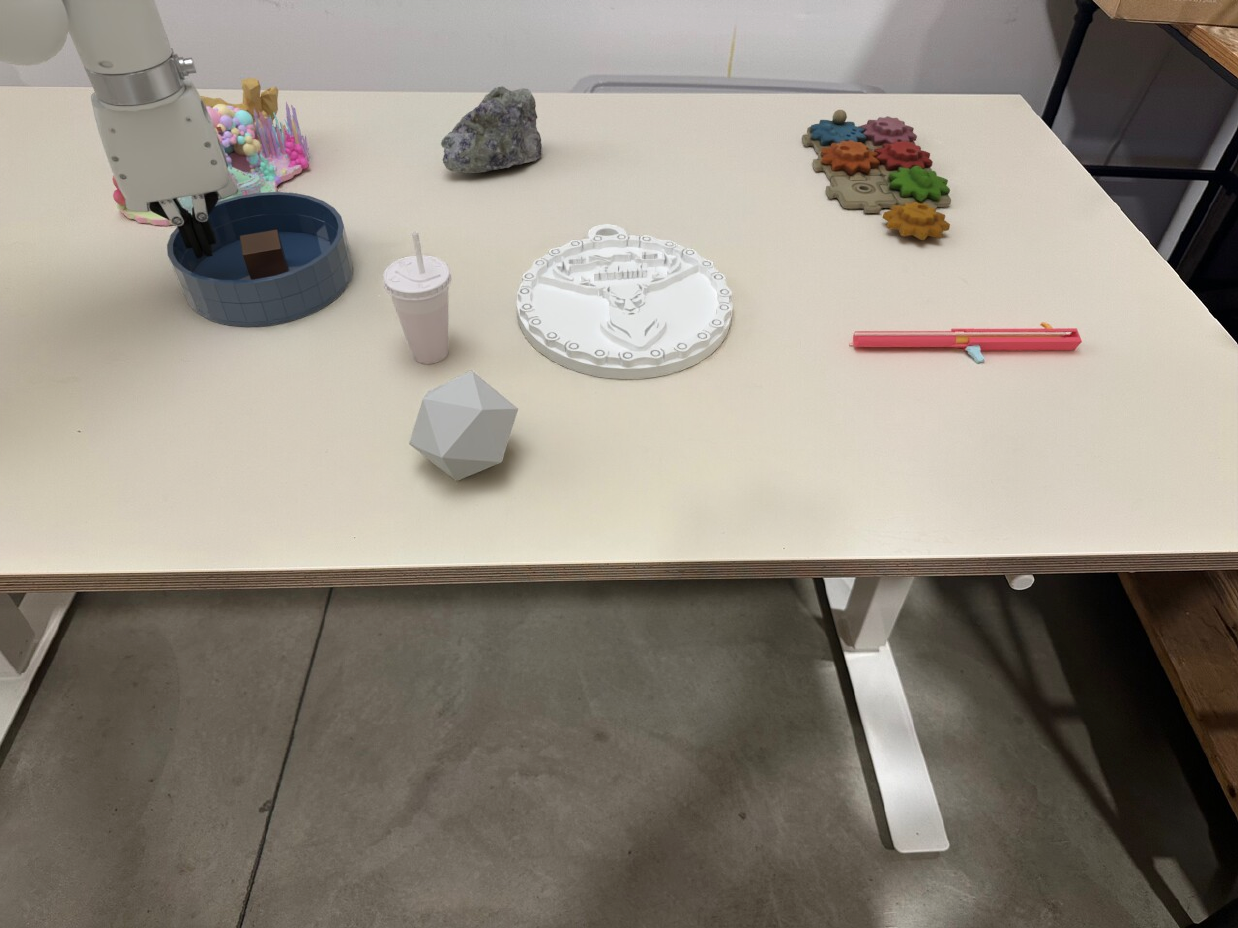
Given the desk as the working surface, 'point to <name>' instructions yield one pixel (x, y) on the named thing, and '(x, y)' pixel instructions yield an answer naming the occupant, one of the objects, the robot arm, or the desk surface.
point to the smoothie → (421, 302)
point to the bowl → (305, 289)
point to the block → (263, 254)
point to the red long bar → (974, 339)
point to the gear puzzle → (881, 172)
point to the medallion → (624, 305)
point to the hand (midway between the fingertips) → (204, 250)
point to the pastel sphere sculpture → (247, 146)
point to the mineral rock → (495, 134)
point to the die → (463, 426)
